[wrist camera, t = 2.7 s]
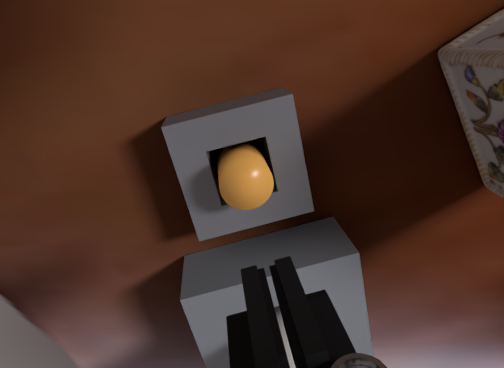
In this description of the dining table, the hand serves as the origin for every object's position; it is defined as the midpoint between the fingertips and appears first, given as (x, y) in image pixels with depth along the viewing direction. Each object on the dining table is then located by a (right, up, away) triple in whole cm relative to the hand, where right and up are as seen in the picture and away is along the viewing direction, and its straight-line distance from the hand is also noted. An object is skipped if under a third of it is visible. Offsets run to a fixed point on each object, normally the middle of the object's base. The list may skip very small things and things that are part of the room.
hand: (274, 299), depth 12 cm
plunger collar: (-2, +6, +13) cm, 14 cm away
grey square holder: (+1, -5, +17) cm, 18 cm away
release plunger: (-1, +5, +11) cm, 13 cm away
